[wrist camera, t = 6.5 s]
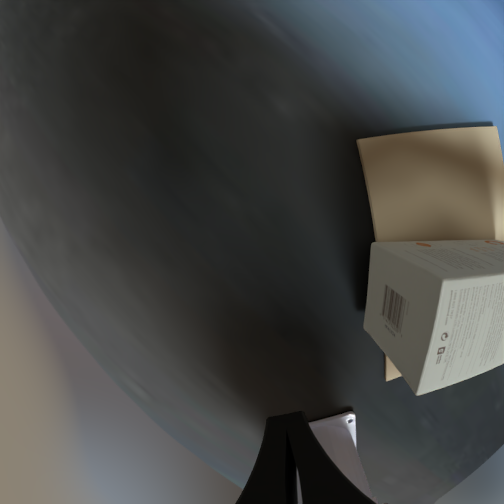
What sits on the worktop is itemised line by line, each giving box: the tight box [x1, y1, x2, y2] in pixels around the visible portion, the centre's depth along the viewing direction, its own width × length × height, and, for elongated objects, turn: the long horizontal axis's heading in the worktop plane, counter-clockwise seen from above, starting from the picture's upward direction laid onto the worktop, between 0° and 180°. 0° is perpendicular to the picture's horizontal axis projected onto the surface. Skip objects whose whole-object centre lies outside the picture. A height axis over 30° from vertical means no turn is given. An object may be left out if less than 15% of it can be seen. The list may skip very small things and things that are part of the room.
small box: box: [363, 240, 504, 395], centre depth 15 cm, size 8×6×13 cm
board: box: [356, 126, 504, 381], centre depth 18 cm, size 19×14×1 cm
